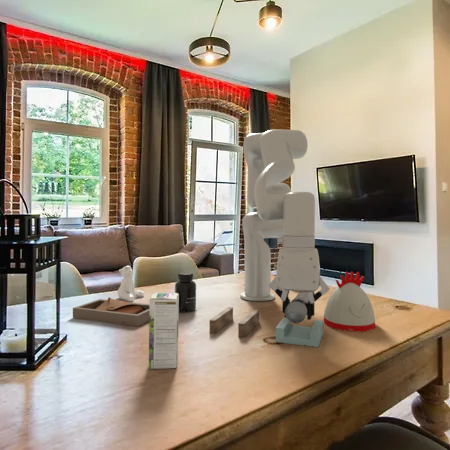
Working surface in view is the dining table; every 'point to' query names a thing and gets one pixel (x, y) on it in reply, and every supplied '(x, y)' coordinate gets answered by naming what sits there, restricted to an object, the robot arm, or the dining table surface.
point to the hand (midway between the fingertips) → (298, 316)
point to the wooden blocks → (227, 316)
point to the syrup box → (163, 330)
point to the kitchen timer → (349, 306)
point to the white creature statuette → (128, 286)
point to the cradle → (299, 333)
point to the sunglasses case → (120, 307)
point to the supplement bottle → (186, 292)
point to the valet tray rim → (110, 314)
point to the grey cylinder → (297, 308)
